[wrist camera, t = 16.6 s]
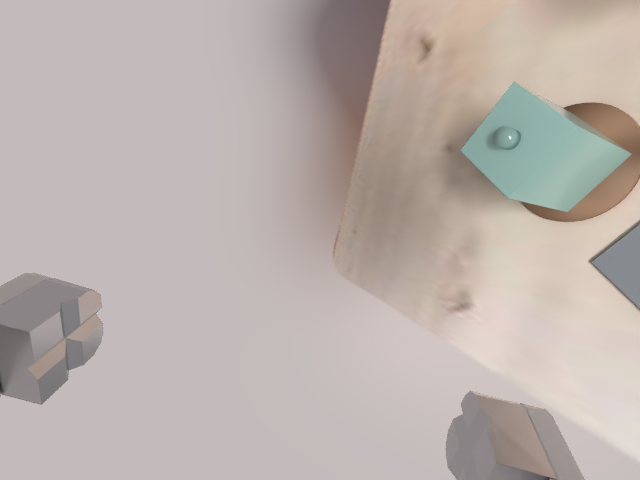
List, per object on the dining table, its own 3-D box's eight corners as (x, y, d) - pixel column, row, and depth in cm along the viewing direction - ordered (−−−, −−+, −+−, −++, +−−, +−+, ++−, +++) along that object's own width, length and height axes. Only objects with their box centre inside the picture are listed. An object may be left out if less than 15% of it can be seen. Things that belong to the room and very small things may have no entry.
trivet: (508, 134, 41) (505, 132, 41) (632, 81, 32) (629, 79, 32) (523, 232, 39) (520, 231, 39) (659, 205, 30) (656, 204, 30)
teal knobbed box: (520, 169, 39) (451, 147, 33) (572, 113, 35) (505, 76, 29) (567, 212, 35) (498, 196, 29) (632, 154, 31) (568, 121, 25)
